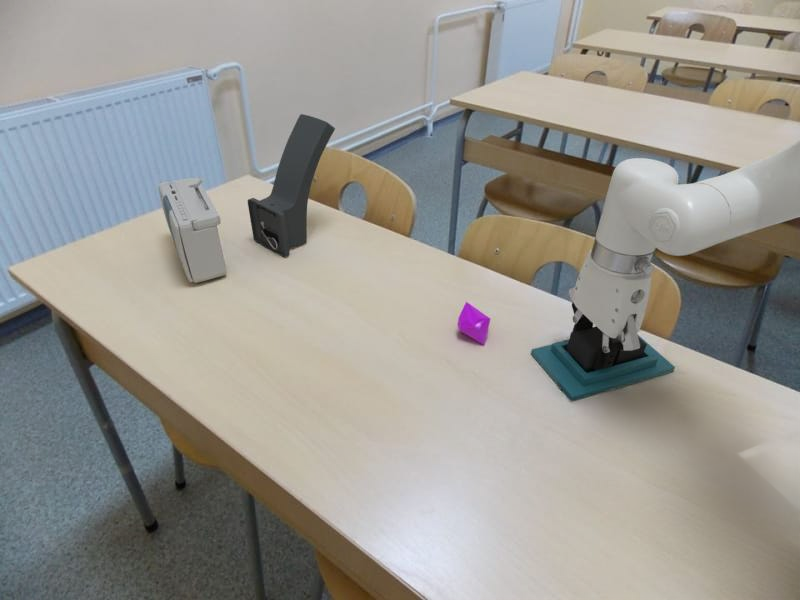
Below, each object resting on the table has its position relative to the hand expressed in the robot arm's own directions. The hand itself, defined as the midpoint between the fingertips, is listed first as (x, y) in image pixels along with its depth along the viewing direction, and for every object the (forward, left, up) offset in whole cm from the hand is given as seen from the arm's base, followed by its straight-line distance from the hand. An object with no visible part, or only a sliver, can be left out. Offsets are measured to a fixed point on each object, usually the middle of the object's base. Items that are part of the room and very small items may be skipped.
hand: (590, 354), depth 80 cm
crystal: (+13, +13, -3) cm, 19 cm away
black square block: (0, 0, 0) cm, 0 cm away
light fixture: (+56, +34, -3) cm, 66 cm away
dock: (0, -3, -3) cm, 4 cm away
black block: (0, -5, -2) cm, 6 cm away
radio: (+53, +55, -3) cm, 77 cm away
